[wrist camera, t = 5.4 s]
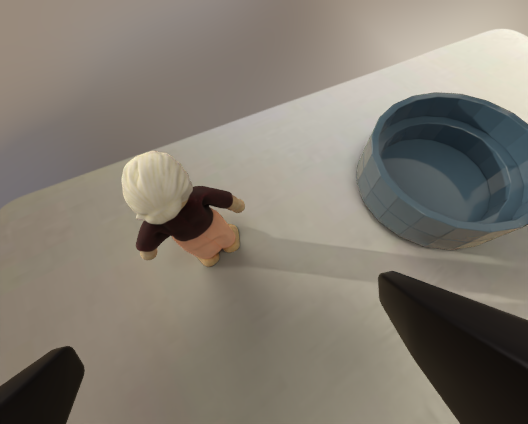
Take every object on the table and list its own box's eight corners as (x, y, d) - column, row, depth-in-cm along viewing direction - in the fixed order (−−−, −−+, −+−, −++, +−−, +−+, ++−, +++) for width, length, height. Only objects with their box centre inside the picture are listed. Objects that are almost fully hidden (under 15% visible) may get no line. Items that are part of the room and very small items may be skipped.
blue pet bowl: (381, 262, 21) (409, 245, 16) (339, 142, 26) (351, 105, 22) (534, 238, 21) (604, 214, 16) (460, 124, 26) (497, 82, 22)
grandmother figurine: (232, 208, 24) (186, 101, 12) (258, 235, 23) (233, 143, 11) (167, 261, 22) (42, 193, 11) (190, 293, 21) (77, 256, 9)
